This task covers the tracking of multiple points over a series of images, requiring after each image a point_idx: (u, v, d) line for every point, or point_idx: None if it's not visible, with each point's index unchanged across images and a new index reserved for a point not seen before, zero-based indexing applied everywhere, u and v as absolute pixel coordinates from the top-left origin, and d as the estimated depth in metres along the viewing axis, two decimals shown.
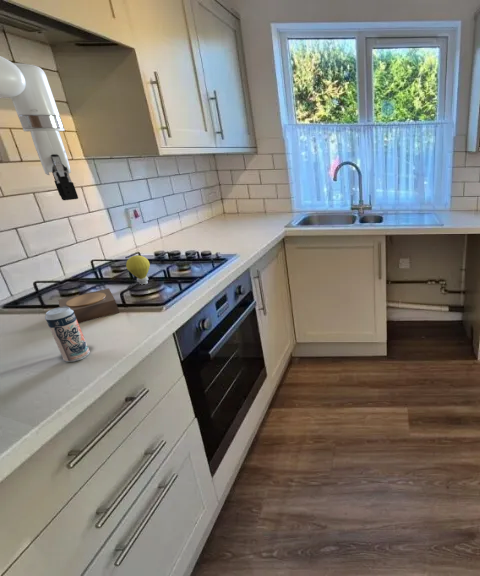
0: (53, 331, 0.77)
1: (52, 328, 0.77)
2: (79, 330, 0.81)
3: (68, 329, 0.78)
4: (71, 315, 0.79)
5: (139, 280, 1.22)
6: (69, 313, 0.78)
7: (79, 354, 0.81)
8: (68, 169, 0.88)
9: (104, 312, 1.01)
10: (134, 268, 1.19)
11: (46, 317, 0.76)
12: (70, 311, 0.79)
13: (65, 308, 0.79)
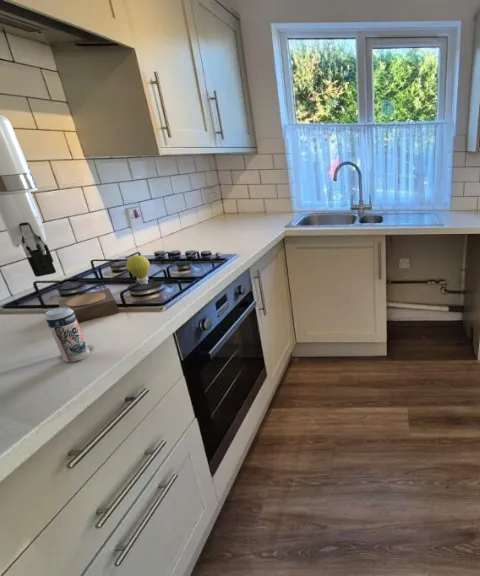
0: (53, 331, 0.77)
1: (52, 328, 0.77)
2: (79, 330, 0.81)
3: (68, 329, 0.78)
4: (71, 315, 0.79)
5: (139, 280, 1.22)
6: (69, 313, 0.78)
7: (79, 354, 0.81)
8: (42, 239, 0.70)
9: (104, 312, 1.01)
10: (134, 268, 1.19)
11: (46, 317, 0.76)
12: (70, 311, 0.79)
13: (65, 308, 0.79)
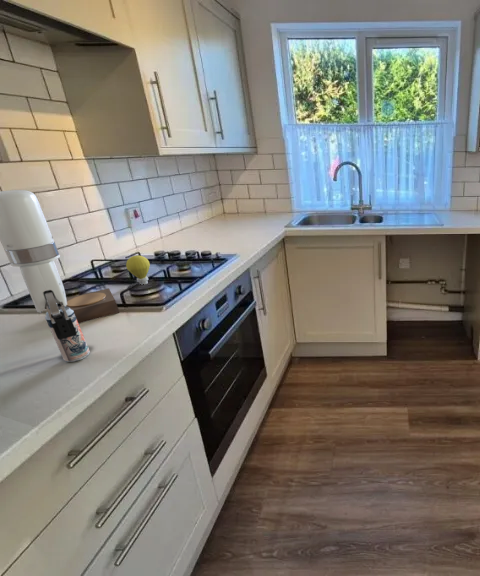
0: (53, 331, 0.77)
1: (52, 328, 0.77)
2: (79, 330, 0.81)
3: None
4: (71, 315, 0.79)
5: (139, 280, 1.22)
6: (69, 313, 0.78)
7: (79, 354, 0.81)
8: (64, 303, 0.74)
9: (104, 312, 1.01)
10: (134, 268, 1.19)
11: (46, 317, 0.76)
12: (70, 311, 0.79)
13: (65, 308, 0.79)
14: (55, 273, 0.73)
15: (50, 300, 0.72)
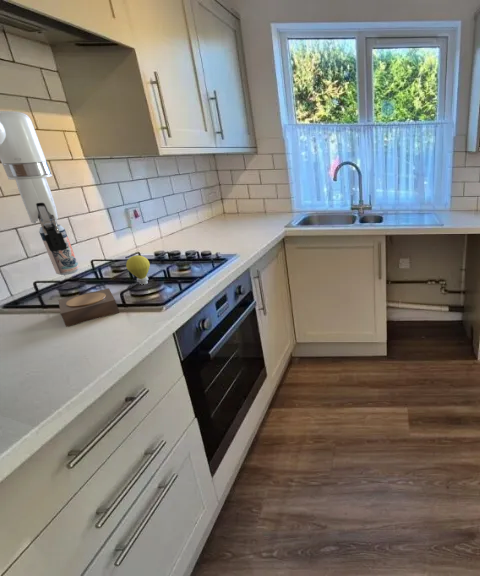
0: (46, 244, 0.87)
1: (45, 241, 0.87)
2: (70, 246, 0.90)
3: None
4: (62, 231, 0.88)
5: (139, 280, 1.22)
6: (61, 229, 0.88)
7: (69, 268, 0.90)
8: (55, 217, 0.84)
9: (104, 312, 1.01)
10: (134, 268, 1.19)
11: (40, 231, 0.86)
12: (61, 228, 0.88)
13: (57, 225, 0.89)
14: (47, 189, 0.83)
15: (42, 211, 0.82)
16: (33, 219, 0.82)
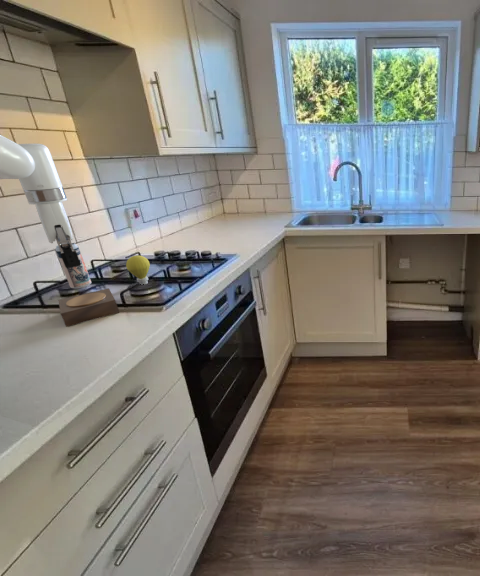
0: (62, 261, 0.96)
1: (61, 258, 0.95)
2: (83, 263, 0.99)
3: None
4: (76, 249, 0.97)
5: (139, 280, 1.22)
6: (75, 247, 0.97)
7: (83, 282, 0.99)
8: (70, 237, 0.93)
9: (104, 312, 1.01)
10: (134, 268, 1.19)
11: (56, 249, 0.95)
12: (75, 246, 0.97)
13: None
14: (63, 212, 0.91)
15: (59, 233, 0.91)
16: (51, 239, 0.90)
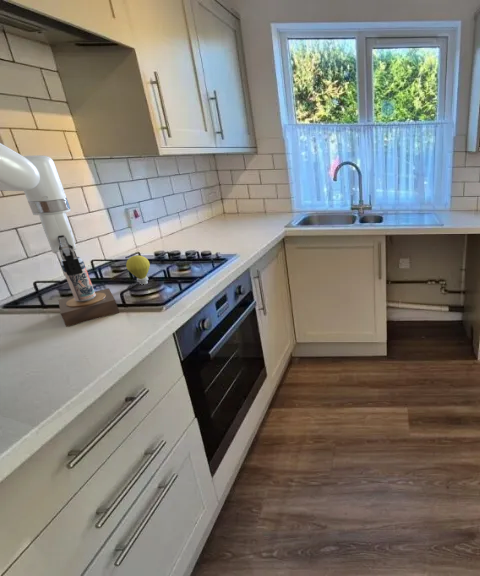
0: (67, 275, 0.97)
1: None
2: (87, 276, 1.01)
3: (79, 274, 0.98)
4: (81, 263, 0.98)
5: (139, 280, 1.22)
6: (80, 261, 0.98)
7: (87, 295, 1.01)
8: (73, 247, 0.94)
9: (104, 312, 1.01)
10: (134, 268, 1.19)
11: (61, 263, 0.96)
12: (80, 260, 0.99)
13: (76, 257, 0.99)
14: (67, 222, 0.92)
15: (61, 239, 0.91)
16: (55, 250, 0.91)
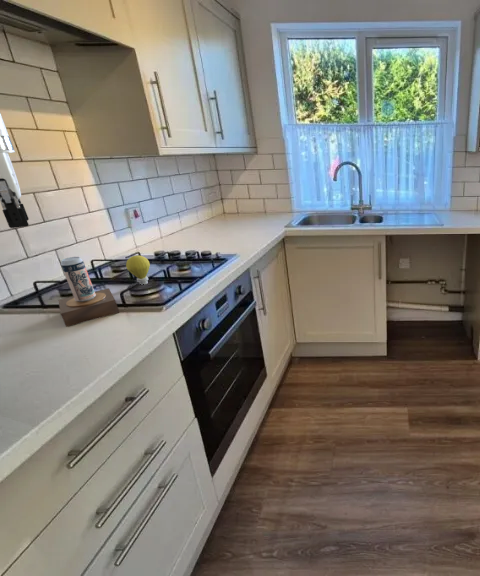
0: (67, 275, 0.97)
1: (66, 272, 0.97)
2: (87, 276, 1.01)
3: (79, 274, 0.98)
4: (81, 263, 0.98)
5: (139, 280, 1.22)
6: (80, 261, 0.98)
7: (87, 295, 1.01)
8: (17, 194, 0.80)
9: (104, 312, 1.01)
10: (134, 268, 1.19)
11: (61, 263, 0.96)
12: (80, 260, 0.99)
13: (76, 257, 0.99)
14: (8, 164, 0.79)
15: (1, 183, 0.77)
16: None
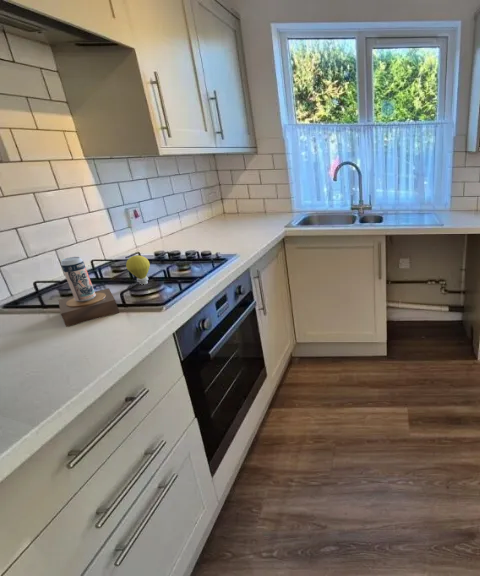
0: (67, 275, 0.97)
1: (66, 272, 0.97)
2: (87, 276, 1.01)
3: (79, 274, 0.98)
4: (81, 263, 0.98)
5: (139, 280, 1.22)
6: (80, 261, 0.98)
7: (87, 295, 1.01)
8: None
9: (104, 312, 1.01)
10: (134, 268, 1.19)
11: (61, 263, 0.96)
12: (80, 260, 0.99)
13: (76, 257, 0.99)
14: None
15: None
16: None
